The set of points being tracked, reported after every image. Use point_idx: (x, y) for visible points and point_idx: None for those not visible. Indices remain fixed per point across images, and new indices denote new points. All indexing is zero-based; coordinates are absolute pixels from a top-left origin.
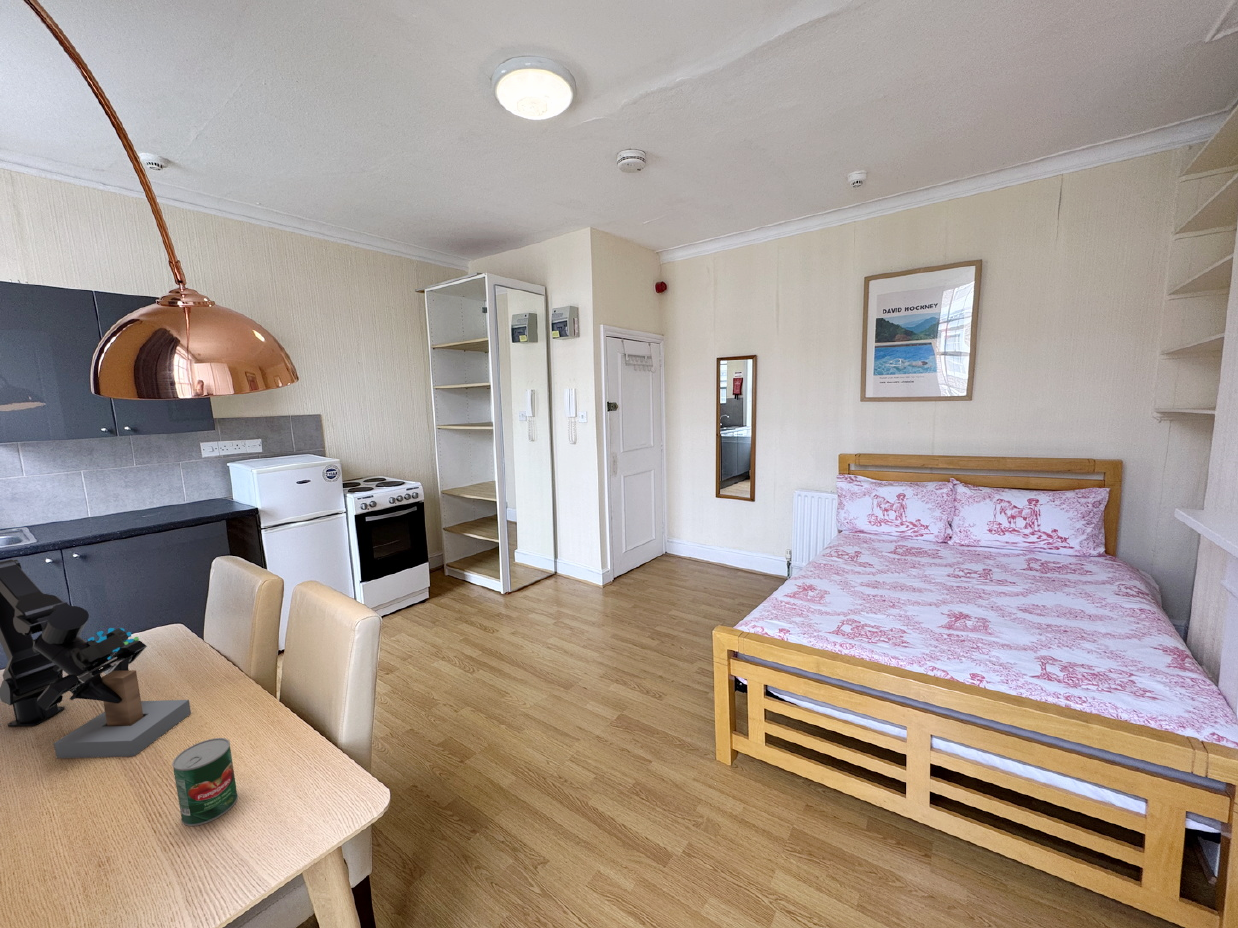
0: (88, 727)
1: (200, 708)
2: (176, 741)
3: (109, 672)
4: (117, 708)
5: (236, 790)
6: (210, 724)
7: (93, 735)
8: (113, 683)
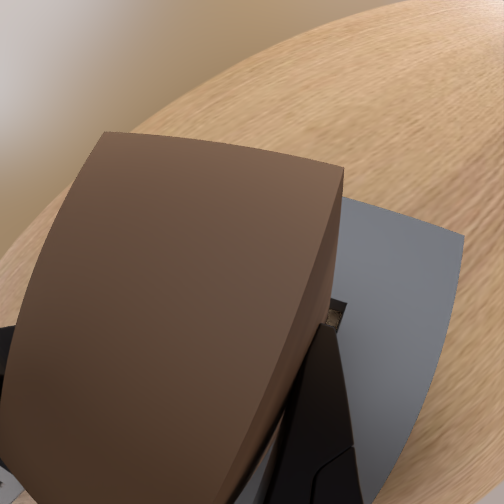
0: None
1: None
2: (391, 167)
3: (6, 477)
4: None
5: None
6: (323, 117)
7: (366, 432)
8: (275, 399)
